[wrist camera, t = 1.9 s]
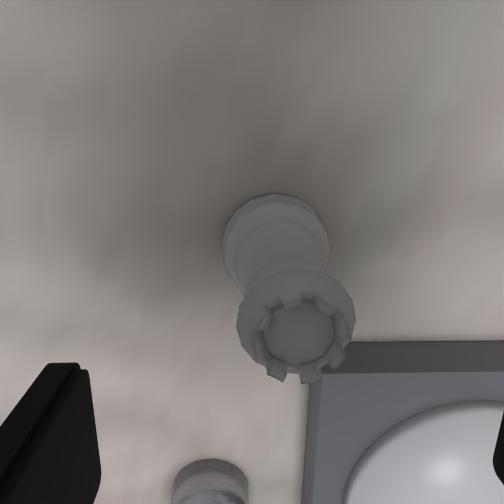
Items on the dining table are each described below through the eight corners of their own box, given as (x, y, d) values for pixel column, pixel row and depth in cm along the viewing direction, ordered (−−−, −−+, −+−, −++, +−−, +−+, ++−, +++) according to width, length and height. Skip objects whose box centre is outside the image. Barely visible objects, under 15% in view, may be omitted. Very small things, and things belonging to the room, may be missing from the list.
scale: (312, 342, 20) (326, 386, 17) (598, 339, 20) (661, 381, 17) (297, 557, 25) (306, 620, 22) (528, 550, 25) (567, 610, 22)
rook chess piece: (324, 286, 19) (383, 409, 11) (225, 292, 19) (218, 419, 11) (326, 188, 17) (396, 254, 10) (218, 193, 17) (205, 264, 10)
